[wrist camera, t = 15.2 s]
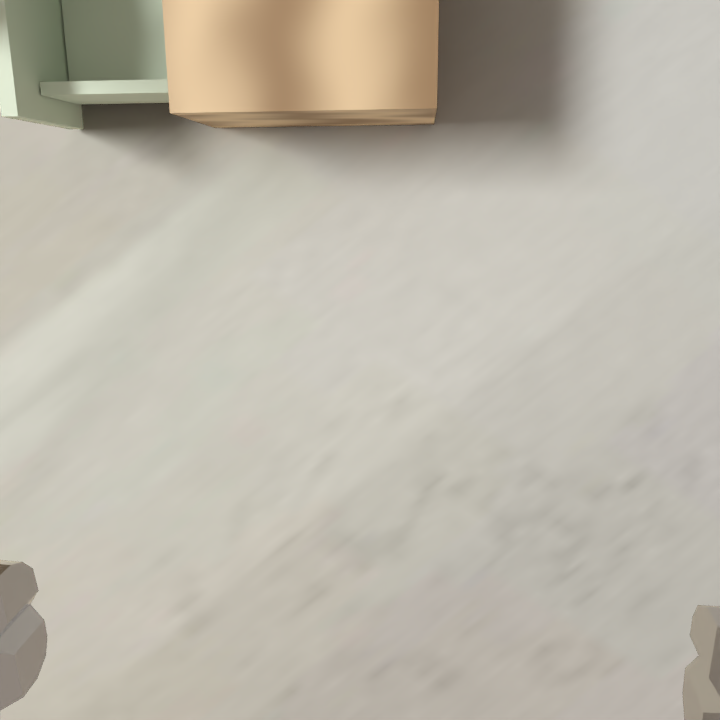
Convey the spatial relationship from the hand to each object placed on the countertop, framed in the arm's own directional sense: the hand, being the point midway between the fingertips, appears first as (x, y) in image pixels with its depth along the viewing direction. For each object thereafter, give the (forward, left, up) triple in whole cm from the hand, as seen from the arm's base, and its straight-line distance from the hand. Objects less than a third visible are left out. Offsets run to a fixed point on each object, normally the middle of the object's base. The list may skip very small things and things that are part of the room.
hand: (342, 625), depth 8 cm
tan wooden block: (+4, -14, -32) cm, 35 cm away
